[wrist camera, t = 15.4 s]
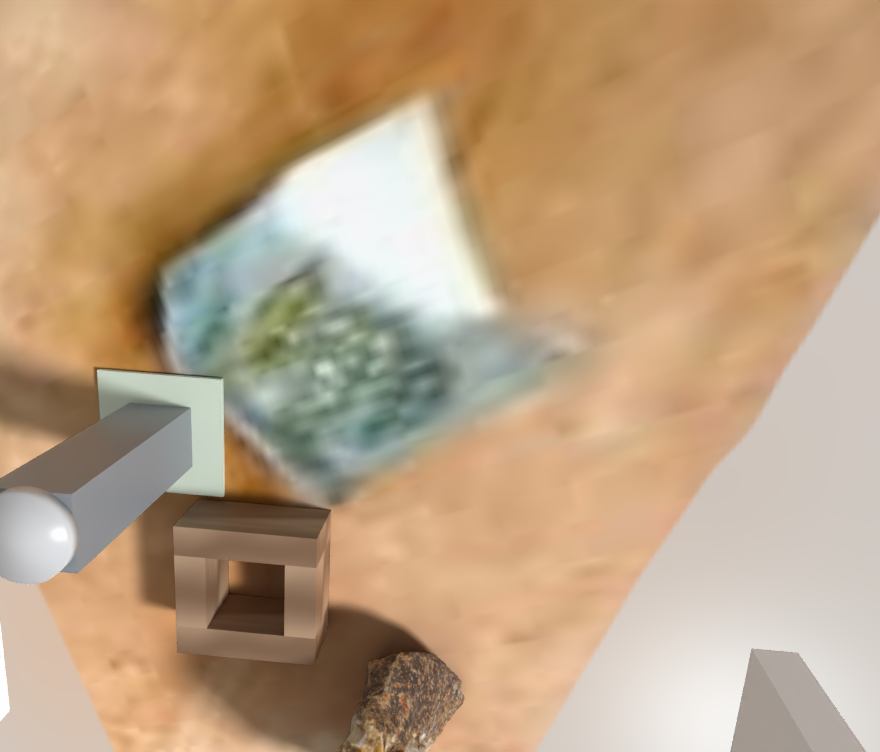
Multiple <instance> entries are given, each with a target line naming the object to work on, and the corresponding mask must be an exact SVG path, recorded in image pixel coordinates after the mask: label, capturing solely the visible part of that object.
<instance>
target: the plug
mask: <svg viewBox="0 0 880 752" xmlns="http://www.w3.org/2000/svg"><path fill="white" fill-rule="evenodd" d="M192 466H193V464H192V427H191V408H188V407H176V406H164V405H151V404H139V403H128V404H127V405H125V406H123V407H121V408H120V409H118V410H116V411H115V412H113V413H111V414H109V415H108V416H106V417H104V418H103V419H101V420H99V421H98V422H96V423H94V424H92V425H91V426H89V427H87V428H86V429H84V430H82V431H80V432H79V433H77V434H75V435H74V436H72V437H70V438H68V439H67V440H65V441H63V442H62V443H60V444H58V445H57V446H55V447H53V448H51V449H50V450H48V451H46V452H45V453H43V454H41V455H39V456H38V457H36V458H34V459H33V460H31V461H29V462H28V463H26V464H24V465H22V466H21V467H19V468H17V469H16V470H14V471H12V472H10V473H9V474H7V475H5V476H4V477H2V478H0V576H1V577H3V578H5V579H7V580H9V581H12V582H16V583H20V584H37V583H42V582H45V581H47V580H49V579H51V578H53V577H54V576H55V575H57V574H58V573H59V572H67V573H79V572H80V571H81V570H82V569H83V568H84V567H85V566H86V565H87V564H88V563H89V562H90V561H91V560H92V559H94V558H95V557H96V556H97V555H98V554H99V553H100V552H101V551H102V550H103V549H104V548H105V547H106V546H108V545H109V544H110V543H111V542H112V541H113V540H114V539H115V538H116V537H117V536H118V535H119V534H120V533H121V532H123V531H124V530H125V529H126V528H127V527H128V526H129V525H130V524H131V523H132V522H133V521H134V520H135V519H137V518H138V517H139V516H140V515H141V514H142V513H143V512H144V511H145V510H146V509H147V508H148V507H149V506H150V505H152V504H153V503H154V502H155V501H156V500H157V499H158V498H159V497H160V496H161V495H162V494H163V493H164V492H166V491H167V490H168V489H169V488H170V487H171V486H172V485H173V484H174V483H175V482H176V481H177V480H178V479H179V478H181V477H182V476H183V475H184V474H185V473H186V472H187V471H188V470H189V469H190V468H191V467H192Z"/></svg>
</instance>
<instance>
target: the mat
mask: <svg viewBox="0 0 880 752" xmlns="http://www.w3.org/2000/svg"><path fill="white" fill-rule="evenodd" d="M97 379H98V395H99V411H100V420H101V419H103V418H104V417H106V416H108V415H109V414H111V413H113V412H115V411H116V410H118V409H120V408H121V407H123V406H125V405H127V404H128V403H139V404H151V405H164V406H176V407H188V408H191V427H192V464H193V466H192V467H191V468H190V469H189V470H188V471H187V472H186V473H185V474H184V475H183V476H182V477H181V478H179V479H178V480H177V481H176V482H175V483H174V484H173V485H172V486H171V487H170V488H169V489H168V490H167V491H166V492H169V493H181V494H192V495H204V496H215V497H224V495H225V467H224V398H223V378H212V377H199V376H186V375H174V374H161V373H148V372H136V371H123V370H111V369H98V370H97Z"/></svg>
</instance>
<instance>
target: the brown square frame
mask: <svg viewBox="0 0 880 752" xmlns="http://www.w3.org/2000/svg"><path fill="white" fill-rule="evenodd" d="M330 529H331V510H322V509H310V508H299V507H287V506H276V505H264V504H253V503H241V502H230V501H218V500H207V499H198V500H197V501H196V502H195V503H194V504H193V505H192V506H191V508H190V509H189V510H188V511H187V512H186V513H185V514H184V515H183V516H182V517H181V518H180V519H179V520H178V521H177V522H176V524H175V525H174V526H173V545H174V573H175V601H176V630H177V652H178V653H188V654H198V655H209V656H219V657H229V658H240V659H250V660H261V661H271V662H281V663H292V664H302V665H313V666H314V665H315V662H316V659H317V657H318V654H319V651H320V648H321V645H322V643H323V640H324V637H325V634H326V632H327V629H328V602H329V565H330ZM228 560H232V561H243V562H254V563H265V564H276V565H285V599H279V598H268V597H257V596H247V595H236V594H229V566H228Z"/></svg>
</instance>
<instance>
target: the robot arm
mask: <svg viewBox="0 0 880 752" xmlns="http://www.w3.org/2000/svg"><path fill="white" fill-rule="evenodd" d="M9 711H10V707H9V698H8V689H7V680H6V670H5V662H4V652H3V643H2V633H1V624H0V720H2V719H3V717H4V716H5V715H6V714H7V713H8V712H9ZM731 752H866V751H865V750H864V748H863V747H862V746H861V744H860V742H859V741H858V740H857V738H856V737H855V735H854V734H853V732H852V731H851V729H850V728H849V726H848V725H847V723H846V722H845V721H844V719H843V718H842V716H841V715H840V713H839V712H838V710H837V709H836V707H835V706H834V705H833V703H832V702H831V700H830V699H829V697H828V696H827V694H826V693H825V691H824V690H823V689H822V687H821V686H820V684H819V683H818V681H817V680H816V679H815V677H814V675H813V674H812V673H811V671H810V670H809V668H808V667H807V665H806V664H805V662H804V661H803V659H802V658H801V657H800V655H799V654H798V653H793V652H783V651H771V650H761V649H752V650H751V654H750V659H749V664H748V669H747V674H746V679H745V684H744V688H743V693H742V698H741V703H740V708H739V713H738V718H737V723H736V727H735V733H734V737H733V742H732V747H731Z"/></svg>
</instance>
